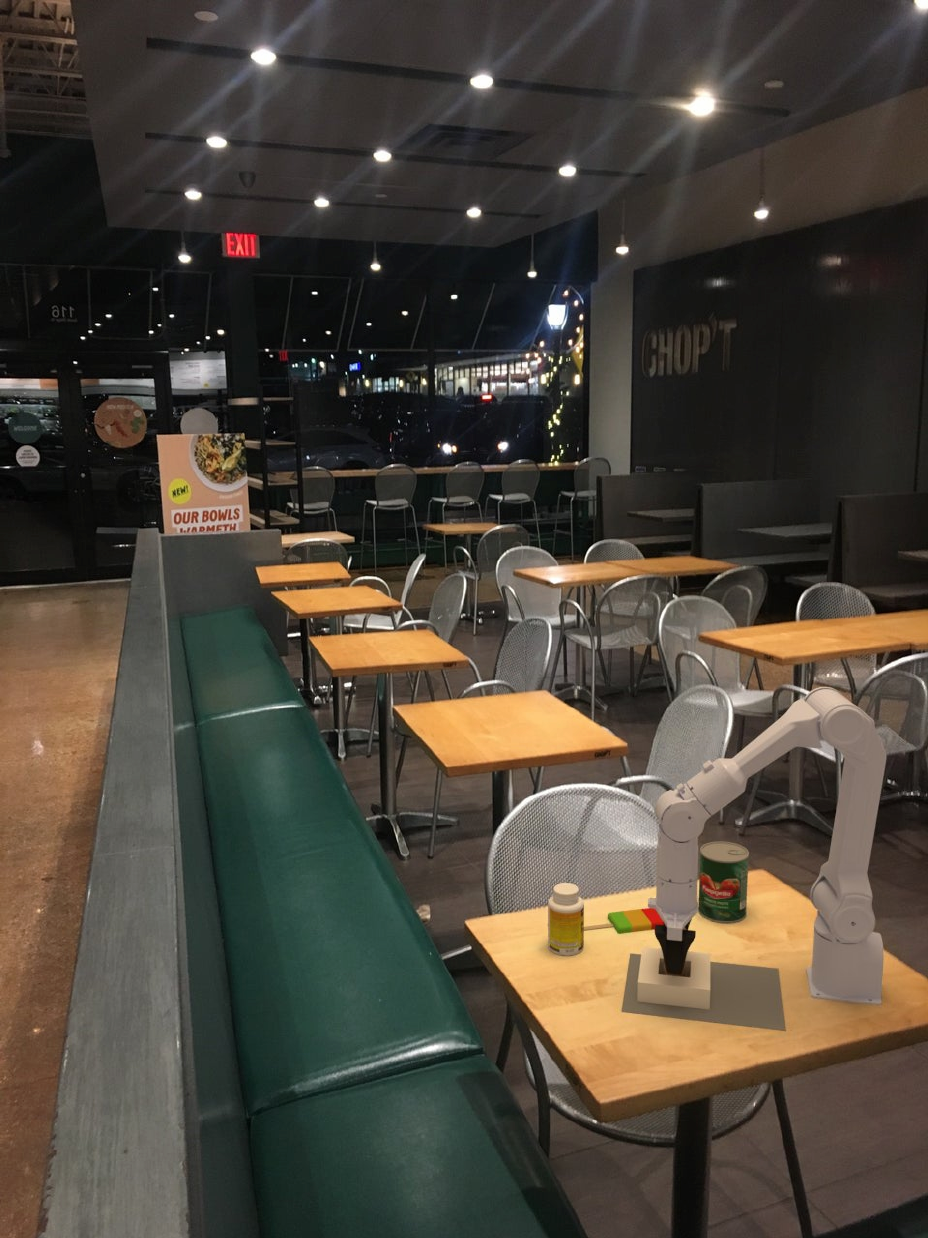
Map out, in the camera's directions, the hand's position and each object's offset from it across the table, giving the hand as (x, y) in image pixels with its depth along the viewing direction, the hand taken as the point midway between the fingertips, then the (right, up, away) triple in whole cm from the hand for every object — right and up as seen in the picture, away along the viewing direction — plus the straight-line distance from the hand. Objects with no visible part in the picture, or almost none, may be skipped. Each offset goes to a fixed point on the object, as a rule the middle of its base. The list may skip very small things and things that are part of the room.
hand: (675, 962), depth 147 cm
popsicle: (-5, -1, +19) cm, 20 cm away
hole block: (0, -4, +1) cm, 4 cm away
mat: (+4, -4, 0) cm, 6 cm away
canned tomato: (+13, 0, +23) cm, 26 cm away
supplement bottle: (-15, -2, +12) cm, 19 cm away
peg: (0, -4, +1) cm, 4 cm away
